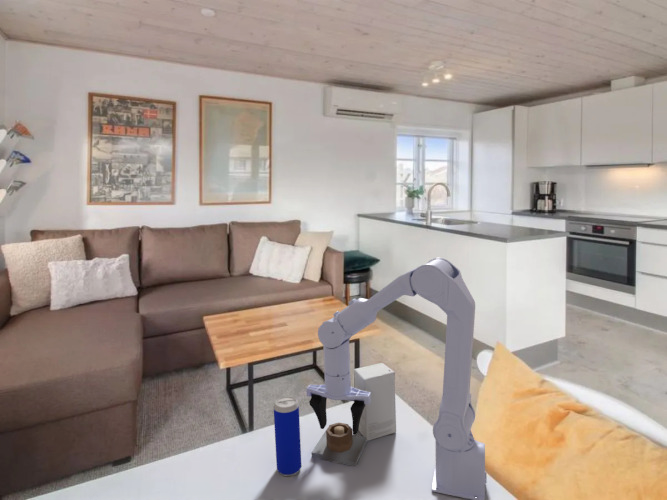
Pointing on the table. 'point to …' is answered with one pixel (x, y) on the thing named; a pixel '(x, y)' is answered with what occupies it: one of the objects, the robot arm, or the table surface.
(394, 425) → the skincare box
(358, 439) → the dowel stand
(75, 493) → the table surface
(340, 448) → the walnut ring
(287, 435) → the beverage can
